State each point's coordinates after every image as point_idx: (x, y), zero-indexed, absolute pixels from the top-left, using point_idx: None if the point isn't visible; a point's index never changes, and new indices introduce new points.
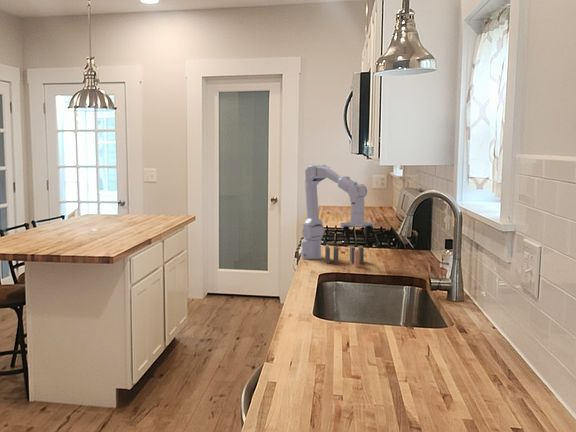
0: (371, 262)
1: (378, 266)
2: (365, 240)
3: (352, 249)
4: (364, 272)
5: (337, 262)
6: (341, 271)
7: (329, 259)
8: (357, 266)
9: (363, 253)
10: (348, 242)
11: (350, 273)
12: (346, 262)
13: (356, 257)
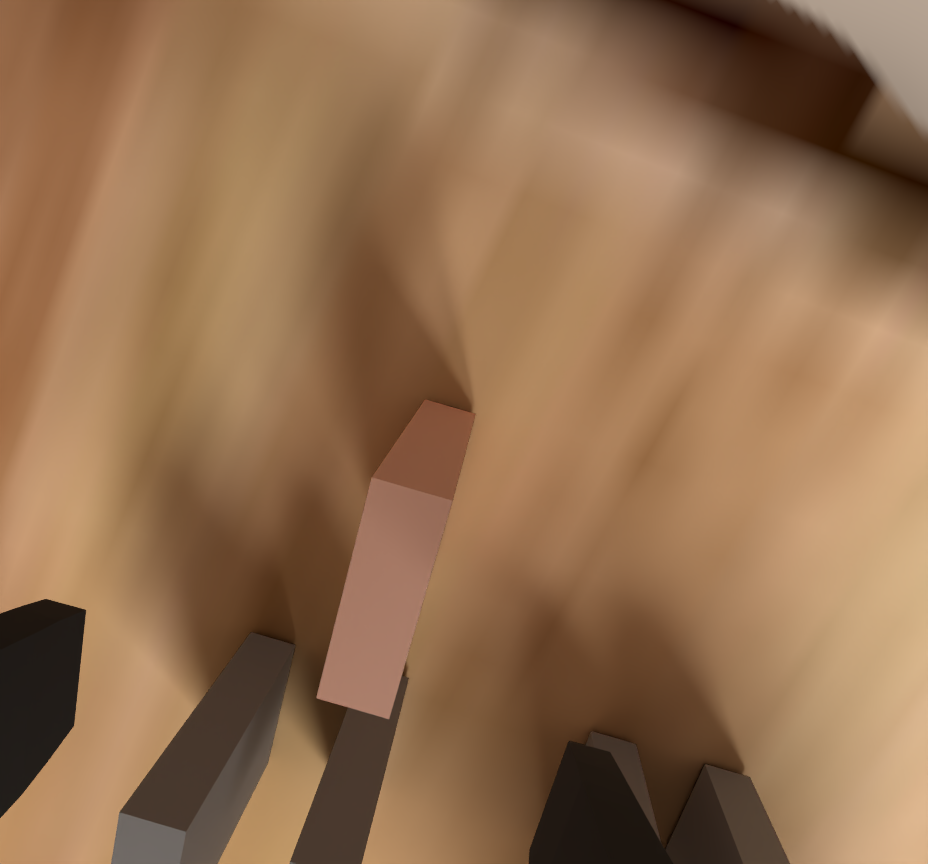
0: (129, 640)
1: (122, 393)
2: (5, 724)
3: (353, 847)
4: (483, 88)
5: (603, 744)
6: (792, 287)
7: (728, 815)
8: (452, 410)
9: (184, 728)
10: (624, 787)
11: (732, 100)
12: (446, 757)
13: (456, 456)
